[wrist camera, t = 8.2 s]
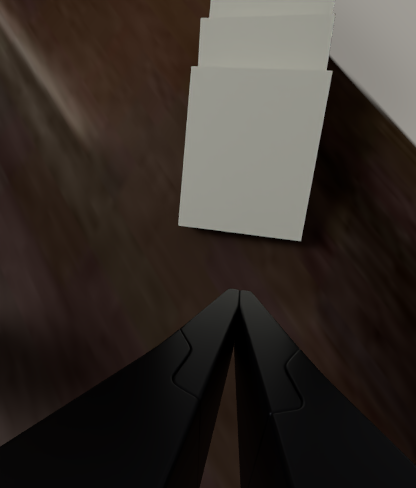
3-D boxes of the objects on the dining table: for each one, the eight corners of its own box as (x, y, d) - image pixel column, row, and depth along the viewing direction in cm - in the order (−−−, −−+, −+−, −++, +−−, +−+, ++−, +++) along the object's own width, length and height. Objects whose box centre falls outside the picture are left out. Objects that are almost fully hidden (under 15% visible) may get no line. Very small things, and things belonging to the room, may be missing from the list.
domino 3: (308, 129, 21) (343, -42, 18) (198, 120, 23) (214, -39, 20) (304, 134, 23) (335, -21, 20) (203, 125, 25) (218, -19, 22)
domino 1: (300, 241, 19) (332, 70, 17) (178, 225, 20) (191, 66, 18) (296, 237, 21) (323, 84, 19) (184, 223, 22) (197, 79, 20)
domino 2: (308, 183, 20) (335, 13, 18) (191, 175, 22) (200, 18, 19) (303, 184, 22) (327, 31, 20) (196, 177, 24) (205, 34, 21)
